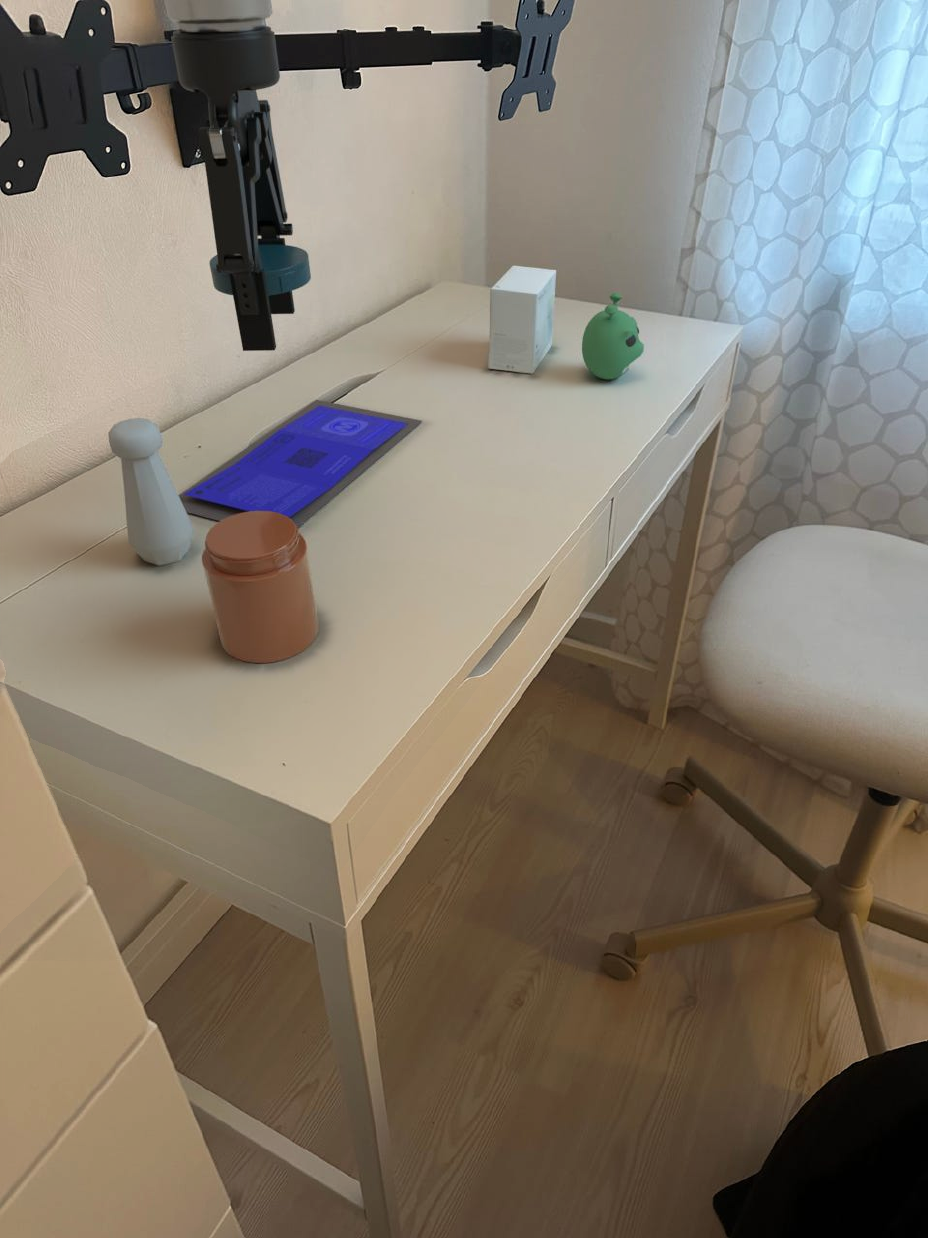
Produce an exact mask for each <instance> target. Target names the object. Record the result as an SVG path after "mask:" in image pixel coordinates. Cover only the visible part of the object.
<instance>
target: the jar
mask: <svg viewBox="0 0 928 1238" xmlns="http://www.w3.org/2000/svg"><path fill="white" fill-rule="evenodd" d="M298 528H299V527H298ZM298 528H297V525H295V524H294V522H293V521H292V520H291V519H290V518H288V517H287V516H285V515H283V514H280V513H276V512H271V511H250V512H244V513H239V514H236V515H232V516H230V517H227V518H225V519H223V520H221V521H218V522H216V523H215V524H214V525H212V527H211V528H209V530H208V531H207V533H206V536H205V541H204V550H203V551H202V555H201V564H202V569H203V572H204V576H205V577H204V578H205V581H206V585H207V588H208V593H209V596H210V597H209V598H210V602H211V605H212V610H213V614H214V618H215V623H216V627H217V631H218V635H219V639H220V644H221V646H222V648H223V650H224V651H225V652H226V653H227V654H228V655H229V656H231V657H232V658H235V659H236V660H239V661H242V662H246V663H252V664H269V663H270V664H271V663H276V662H280V661H285V660H287V659H290V658H292V657H294V656H296V655H298V654H300V653H302V652H303V651H305V650H307V649H308V648H309V647H310V645H312V644H313V642H314V641H315V640H316V638H317V636H318V634H319V630H320V629H319V628H320V625H319V624H320V623H319V617H318V612H317V611H318V610H317V604H316V599H315V598H316V597H315V592H314V585H313V584H314V583H313V577H312V572H311V564H310V559H309V558H310V557H309V551H308V545H307V541H306V539H305V537H304V536H303V535H302V534H301V533H300V532H299V529H298Z"/></svg>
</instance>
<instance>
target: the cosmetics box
mask: <svg viewBox="0 0 928 1238" xmlns="http://www.w3.org/2000/svg"><path fill="white" fill-rule="evenodd" d="M556 280H557V270H556V269H548V268H540V267H530V266H521V265H511V266H510V268H509V269H508V270H507V271H506V272H505V273H504V274H503V275H502V276H501V278H499V280H497V282H495V284H494V285H493V286H491V288H490V291H489V293H490V295H489V342H488V343H489V344H488V358H487V359H488V360H487V361H488V364H487V368H488V369H489V370H498V371H508V372H515V373H523V374H530V375H531V374H534V373H535V371H536V370H537V368H538V367H539V366H540V364H541V363H542V361H543V360H544V358H545V357H546V356H547V353H548V352H549V351H550V349H551V348H552V345H553V328H554V327H553V326H554V310H555V297H556V296H555V295H556Z"/></svg>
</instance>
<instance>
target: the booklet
mask: <svg viewBox="0 0 928 1238" xmlns="http://www.w3.org/2000/svg"><path fill="white" fill-rule="evenodd" d="M403 428H404V427H403V425H402V424H401V423H389V422H388V421H377V419H376V418H363V417H362V416H351V415H350V414H349V413H343V412H342V411H333V410H332V409H323V408H322V407H315V408H313V409H311V410H310V411H308V412H306V413H305V414H303V415H301V416H300V417H298V418H297V419H295V420H293V421H292V422H290V423H288V424H287V425H285V426H284V427H282V428H280V429H279V430H278V431H276V432H275V433H274V434H272V435H271V436H270V437H268V438H267V439H266V440H265V441H263V442H262V443H261V444H259V445H258V446H257V447H255V448H254V449H253V450H251V451H250V452H249V453H248V454H246V455H245V456H244V457H242V458H241V459H240V460H238V461H237V462H236V463H234V464H233V465H231V466H229V467H227V468H226V469H224V470H222V471H221V472H219V473H217V474H216V475H214V476H212V477H210V478H209V479H207V480H205V481H204V482H202V483H200V484H198V485H197V486H195V487H193V485H192V486H190V487H188V488H187V489H185V490H184V491H185V493H184V494H183V495H184V496H188V497H191V498H195V499H199V500H203V501H207V502H211V503H215V504H219V505H222V506H226V507H230V508H234V509H238V510H242V511H245V512H250V511H271V512H276V513H280V514H283V515H285V516H287V517H288V518H290V517H292V516H293V515H295V514H296V513H298V512H299V511H300V510H302V509H303V508H305V507H306V506H307V505H309V504H310V503H312V502H313V501H314V500H316V499H317V498H319V497H320V496H322V495H323V494H324V493H326V492H327V491H329V490H330V489H331V488H333V487H334V486H335V485H336V484H337V483H338V482H339V481H340V480H341V479H343V478H344V477H345V476H346V475H347V474H348V473H349V472H350V471H351V470H353V469H354V468H355V467H356V466H357V465H358V464H359V463H360V462H361V461H362V460H364V459H365V458H366V457H367V456H368V455H369V454H370V453H371V452H372V451H374V450H375V449H376V448H378V447H379V446H380V445H382V444H383V443H384V442H386V441H387V440H388V439H390V438H391V437H393V436H394V435H395V434H397V433H398V432H399V431H401V430H402V429H403Z"/></svg>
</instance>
